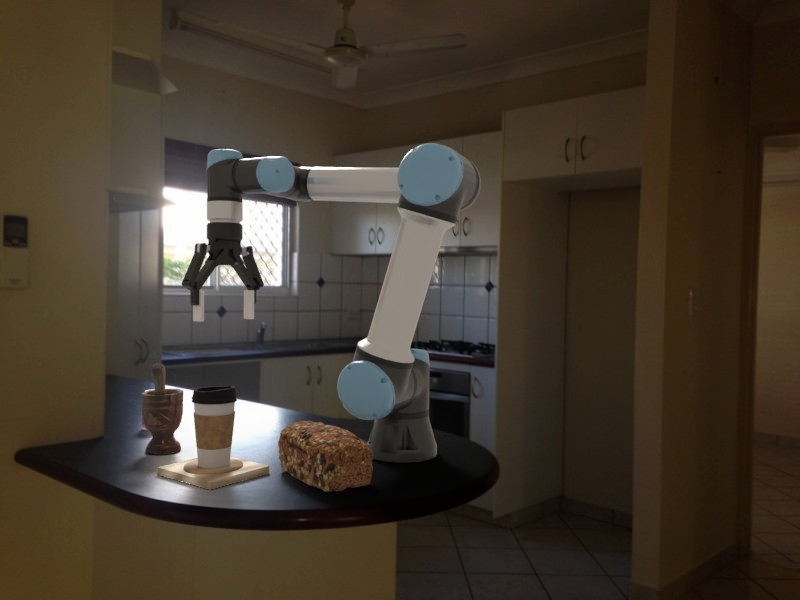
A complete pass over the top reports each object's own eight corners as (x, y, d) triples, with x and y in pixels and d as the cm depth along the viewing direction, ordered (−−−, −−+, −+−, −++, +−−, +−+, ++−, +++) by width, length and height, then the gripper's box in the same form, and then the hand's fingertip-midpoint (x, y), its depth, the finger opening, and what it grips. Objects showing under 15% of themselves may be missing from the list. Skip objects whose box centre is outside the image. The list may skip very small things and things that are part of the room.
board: (269, 473, 134) (269, 464, 134) (209, 490, 122) (209, 480, 122) (216, 460, 143) (216, 451, 143) (157, 474, 132) (157, 465, 132)
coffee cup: (224, 471, 128) (225, 391, 128) (182, 468, 130) (183, 389, 129) (243, 460, 136) (244, 384, 136) (204, 457, 138) (204, 382, 138)
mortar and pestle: (191, 456, 147) (191, 362, 146) (148, 461, 142) (148, 364, 142) (178, 445, 157) (178, 357, 156) (138, 449, 152) (138, 359, 152)
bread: (277, 472, 135) (277, 421, 135) (324, 464, 142) (324, 415, 141) (325, 496, 120) (325, 438, 120) (375, 485, 127) (375, 431, 126)
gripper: (257, 227, 162) (257, 317, 163) (164, 218, 142) (164, 321, 143) (279, 225, 158) (279, 318, 158) (186, 216, 138) (186, 323, 138)
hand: (224, 320), depth 150 cm, fingers open, 13 cm apart
